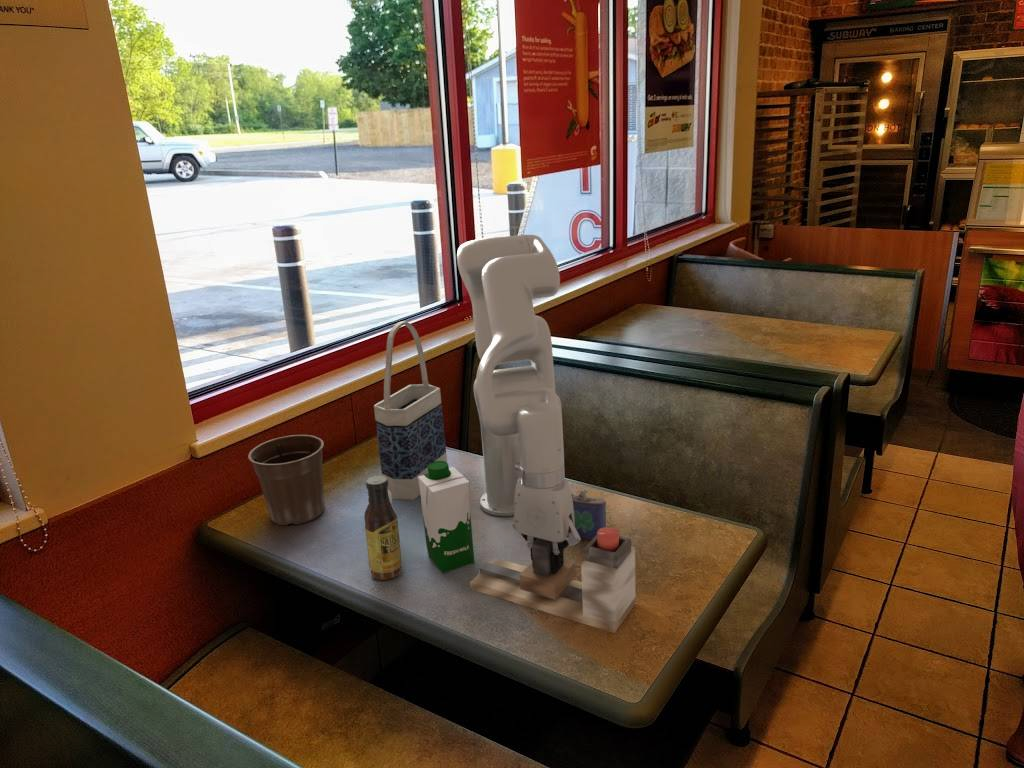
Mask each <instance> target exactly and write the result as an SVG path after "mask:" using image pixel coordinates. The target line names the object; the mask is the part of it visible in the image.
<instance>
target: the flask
mask: <svg viewBox="0 0 1024 768" xmlns="http://www.w3.org/2000/svg"><path fill="white" fill-rule="evenodd" d="M587 494H588V490H585V489H583V490H581V491H579V494H578V495H577V494H573V493H572V492H571V495H572V501H573V507H574V517H575V528H576V530H577V532H578V534H579V536H580V538H581V540H580V541H579V542H581V541H582V542H583V541H584V542H588V543H590V541H591V540H592V539H593V538H594V537H595V536H596V535H597V531H598V530H599V529H601V528H604V527H607V513H606V512H607V509H606V507H607V502H606V499H604V498H602V497H601V498H599V497H587ZM567 537H569V536H568V535H567Z"/></svg>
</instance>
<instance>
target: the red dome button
mask: <svg viewBox="0 0 1024 768" xmlns="http://www.w3.org/2000/svg"><path fill="white" fill-rule="evenodd" d="M619 536H620V532H619V530H618V529H617V528H615V527H610V526H606V527H604V528H601V529H599V530H598V531H597V547H598V548H599V549H603V550H607V551H611V552H616V551H617V550H618V548H619Z"/></svg>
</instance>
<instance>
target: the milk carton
mask: <svg viewBox="0 0 1024 768" xmlns="http://www.w3.org/2000/svg"><path fill="white" fill-rule="evenodd" d="M449 466H450V465H449V463H448V461H447V462H445V461H435V462H432V463H430V464H429V465H428V474H424V475H422V476H418V481H419V488H420V495H419V496H420V500H421V511H422V519H423V529H424V538H425V544H426V549H427V553H428V554H427V555H428V558H429V559H430V561H431V562H432V563H433V564H434V565H435V567H436V568H437V569H438V571H440V573H441V574H443V575H444V574H445V573H446V574H447V573H448V572H451V571H453V570H458V569H460V568H464V567H466V566H469V565H472V564H475V553H474V550H475V549H474V540H473V539H474V538H473V529H472V517H471V507H470V496H469V495H470V481H469V480H468V479H467V478H466V477H465V476H464V474H462V473H461V472H459V471H458V469H456V468H455V467H454V466H451V467H449Z"/></svg>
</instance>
